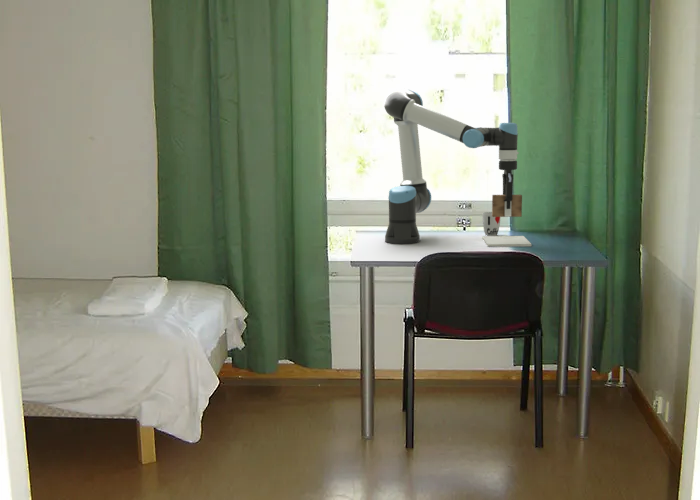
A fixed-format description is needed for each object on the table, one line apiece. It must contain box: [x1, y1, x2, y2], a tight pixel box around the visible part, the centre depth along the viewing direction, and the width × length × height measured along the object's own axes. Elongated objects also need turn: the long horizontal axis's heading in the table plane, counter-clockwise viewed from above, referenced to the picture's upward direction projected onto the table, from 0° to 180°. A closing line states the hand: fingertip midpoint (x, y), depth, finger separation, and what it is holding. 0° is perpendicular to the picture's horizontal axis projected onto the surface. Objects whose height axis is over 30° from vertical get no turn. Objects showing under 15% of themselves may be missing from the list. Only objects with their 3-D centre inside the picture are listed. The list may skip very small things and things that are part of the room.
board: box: [491, 194, 523, 218], centre depth 361 cm, size 12×3×9 cm, turn 88°
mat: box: [481, 235, 533, 248], centre depth 365 cm, size 18×20×1 cm
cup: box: [481, 211, 501, 236], centre depth 382 cm, size 8×8×10 cm
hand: (507, 215), depth 362 cm, fingers closed on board, 3 cm apart
